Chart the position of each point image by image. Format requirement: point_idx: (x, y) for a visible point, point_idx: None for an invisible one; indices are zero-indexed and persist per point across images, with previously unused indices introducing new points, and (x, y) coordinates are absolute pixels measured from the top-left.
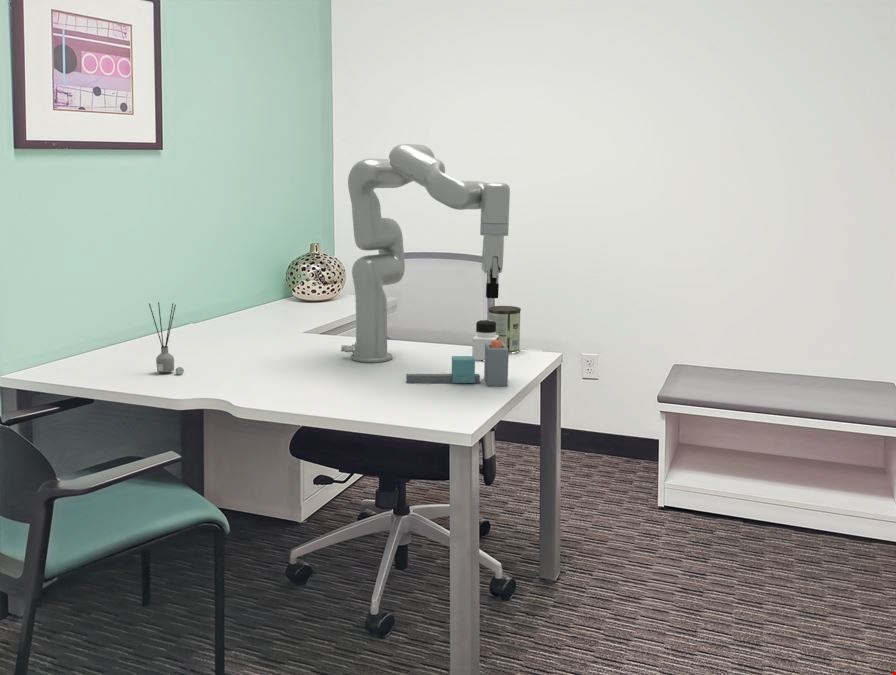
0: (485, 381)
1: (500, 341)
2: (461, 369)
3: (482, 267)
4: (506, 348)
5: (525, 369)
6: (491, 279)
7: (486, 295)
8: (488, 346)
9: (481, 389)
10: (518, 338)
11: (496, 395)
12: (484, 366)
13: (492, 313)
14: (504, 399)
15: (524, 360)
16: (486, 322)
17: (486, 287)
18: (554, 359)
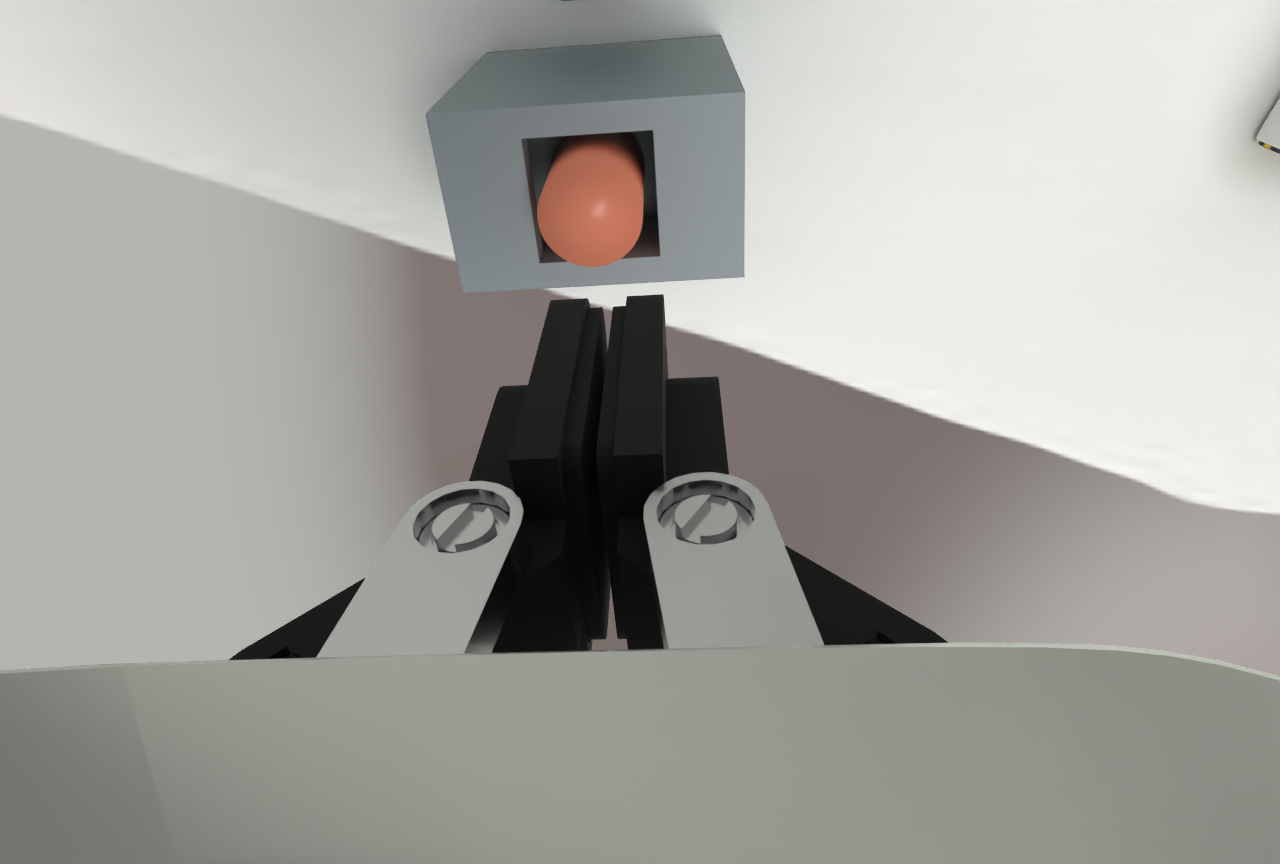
0: (616, 43)
1: (570, 251)
2: None
3: (581, 763)
4: (514, 279)
5: (967, 330)
6: (297, 636)
7: (554, 313)
8: (579, 123)
9: (385, 4)
10: None
11: (253, 108)
12: (722, 51)
13: None
14: (172, 156)
15: (1231, 343)
16: None
17: (614, 393)
18: (1199, 500)
